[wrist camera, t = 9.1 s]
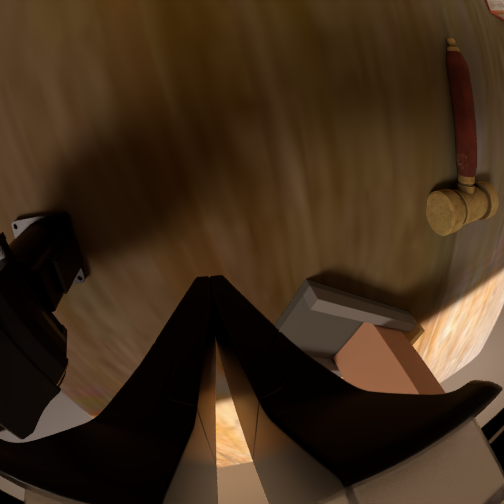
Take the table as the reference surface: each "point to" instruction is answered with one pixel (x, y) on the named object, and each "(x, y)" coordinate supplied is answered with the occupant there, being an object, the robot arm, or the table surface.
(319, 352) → the gray tray
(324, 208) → the table surface
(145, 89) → the table surface
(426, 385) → the block
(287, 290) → the table surface
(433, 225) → the gavel
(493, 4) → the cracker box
